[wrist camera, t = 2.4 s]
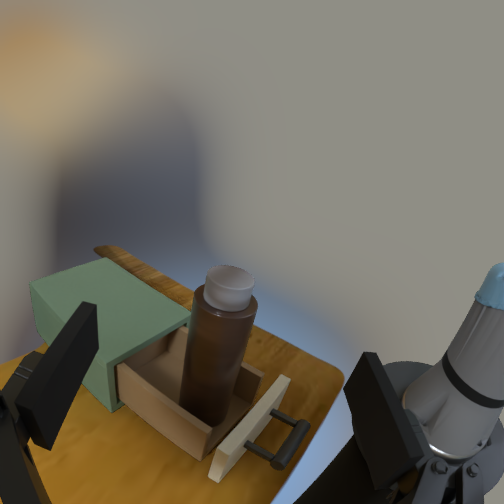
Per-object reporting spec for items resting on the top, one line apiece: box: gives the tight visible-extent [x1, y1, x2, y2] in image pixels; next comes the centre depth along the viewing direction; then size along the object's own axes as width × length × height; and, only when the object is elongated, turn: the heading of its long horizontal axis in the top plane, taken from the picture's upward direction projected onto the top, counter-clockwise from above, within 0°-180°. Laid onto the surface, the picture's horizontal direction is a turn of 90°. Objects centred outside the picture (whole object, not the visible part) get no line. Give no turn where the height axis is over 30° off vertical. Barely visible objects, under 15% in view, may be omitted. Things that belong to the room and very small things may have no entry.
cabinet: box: [29, 257, 191, 413], centre depth 35 cm, size 17×13×8 cm
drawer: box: [114, 325, 310, 483], centre depth 29 cm, size 20×12×6 cm, turn 60°
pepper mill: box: [179, 265, 258, 428], centre depth 27 cm, size 5×5×16 cm
